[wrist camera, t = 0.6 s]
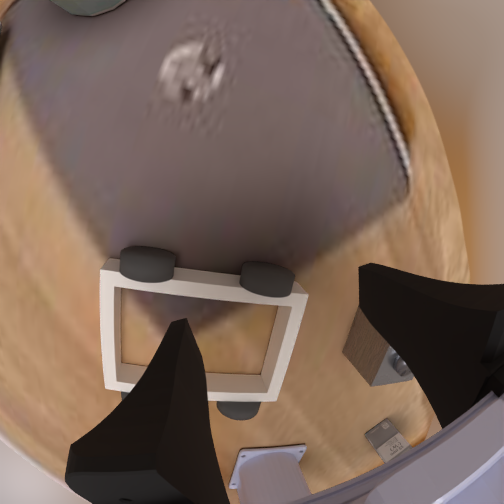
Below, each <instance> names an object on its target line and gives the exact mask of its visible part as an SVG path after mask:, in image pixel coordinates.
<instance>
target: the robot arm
mask: <svg viewBox="0 0 504 504" xmlns="http://www.w3.org/2000/svg"><path fill="white" fill-rule="evenodd" d="M359 307H360V309H361V310H362V312H363V313H364V315H365V316H366V318H367V319H368V321H369V322H370V324H371V325H372V326H373V327H374V328H375V329H376V330H377V332H378V333H379V334H380V335H381V336H382V337H383V338H384V339H385V340H386V341H387V343H388V344H389V345H390V346H391V347H392V348H393V349H394V350H395V351H396V352H397V354H398V355H399V356H400V357H401V358H402V360H403V361H404V362H405V363H406V365H407V366H408V368H409V369H410V371H411V372H412V374H413V375H414V377H415V378H416V380H417V381H418V383H419V385H420V386H421V388H422V389H423V391H424V393H425V395H426V396H427V398H428V400H429V402H430V404H431V406H432V408H433V410H434V412H435V414H436V415H437V418H438V420H439V422H440V425H441V427H442V430H440V431H439V432H437V433H436V434H434V435H433V436H431V437H430V438H429V439H427V440H425V441H424V442H422V443H420V444H419V445H417V446H415V447H414V448H412V449H410V450H409V451H407V452H405V453H403V454H402V455H400V456H398V457H396V458H394V459H393V460H391V461H389V462H387V463H385V464H383V465H381V466H379V467H377V468H375V469H373V470H371V471H369V472H367V473H364V474H362V475H360V476H358V477H356V478H353V479H351V480H349V481H346V482H344V483H342V484H339V485H337V486H334V487H331V488H329V489H326V490H323V491H321V492H318V493H315V494H311V492H310V490H309V487H308V485H307V483H306V480H305V478H304V476H303V473H302V471H301V469H300V466H299V464H298V463H299V461H300V460H301V458H302V456H303V454H304V452H305V451H306V449H307V447H306V445H296V446H286V447H275V448H259V449H242V450H241V451H240V452H239V455H238V458H237V461H236V464H235V467H234V471H233V474H232V477H231V480H230V483H229V488H230V489H237V492H238V496H239V500H240V504H504V284H494V285H476V284H462V283H454V282H447V281H441V280H436V279H431V278H427V277H423V276H419V275H415V274H412V273H408V272H404V271H401V270H397V269H394V268H391V267H387V266H383V265H379V264H375V263H369V264H366V265H363V266H360V267H359ZM65 482H66V483H67V485H68V486H69V487H70V488H71V489H72V490H73V491H74V492H75V493H77V494H78V495H80V496H81V497H83V498H84V499H86V500H88V501H89V502H91V503H92V504H230V502H229V499H228V496H227V493H226V490H225V486H224V483H223V479H222V476H221V472H220V468H219V464H218V461H217V457H216V452H215V448H214V444H213V439H212V434H211V428H210V419H209V407H208V394H207V381H206V374H205V369H204V364H203V359H202V355H201V353H200V350H199V348H198V346H197V343H196V341H195V338H194V336H193V333H192V331H191V328H190V326H189V323H188V321H187V318H185V319H181V320H177V321H173V322H171V324H170V326H169V328H168V330H167V332H166V334H165V336H164V338H163V340H162V342H161V344H160V346H159V347H158V349H157V351H156V353H155V355H154V357H153V359H152V360H151V362H150V364H149V365H148V367H147V369H146V370H145V372H144V374H143V375H142V377H141V378H140V379H139V381H138V382H137V384H136V385H135V386H134V387H133V389H132V390H131V391H130V393H129V394H128V395H127V396H126V397H125V398H124V399H123V400H122V402H121V403H120V404H119V405H118V406H117V407H116V408H115V409H114V410H113V411H112V412H111V413H110V414H109V415H108V416H107V417H106V418H105V419H104V420H103V421H102V422H100V423H99V424H98V425H97V426H96V427H95V428H93V429H92V430H91V431H89V432H88V433H87V434H85V435H84V436H83V437H81V438H80V439H78V440H77V441H76V442H74V443H73V444H71V446H70V450H69V456H68V461H67V467H66V473H65Z"/></svg>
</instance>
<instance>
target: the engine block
mask: <svg viewBox="0 0 504 504" xmlns="http://www.w3.org/2000/svg"><path fill="white" fill-rule="evenodd" d="M343 353H344V355H345V356H346V357H347V358H348V359H349V361H350V362H351V363H352V364H353V366H354V367H355V368H356V369H357V370H358V372H359V373H360V374H361V375H362V376H363V378H364V379H365V380H366V381H367V383H368V384H369V385H370V386H371V387H372V386H379V385H385V384H392V383H398V382H403V381H409V380H412V379H413V377H414V375H413V374H412V372H411V371H410V369H409V368H408V366H407V365H406V363H405V362H404V361H403V360H402V358H401V357H400V356H399V355H398V354H397V352H396V351H395V350H394V349H393V348H392V347H391V346H390V345H389V344H388V343H387V341H386V340H385V339H384V338H383V337H382V336H381V335H380V334H379V333H378V332H377V330H376V329H375V328H374V327H373V326H372V325H371V324H370V322H369V321H368V319H367V318H366V316H365V315H364V313H363V312H362V310H361V309H360V307H359V306H358V309H357V312H356V315H355V318H354V321H353V324H352V327H351V330H350V333H349V335H348V338H347V341H346V344H345V346H344V349H343Z"/></svg>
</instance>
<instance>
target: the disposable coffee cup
mask: <svg viewBox="0 0 504 504" xmlns="http://www.w3.org/2000/svg"><path fill="white" fill-rule="evenodd" d="M50 1H52V2H54V3H55V4H57V5H58V6H60V7H61V8H63V9H64V10H66V11H67V12H69V13H70V14H76V15H84V16H95V15H98V14H101V13H104V12H107V11H110V10H113V9H115V8H116V7H117V6H119V5H120V4H122V3H123V2H124V1H126V0H50Z"/></svg>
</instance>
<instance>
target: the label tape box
mask: <svg viewBox="0 0 504 504" xmlns="http://www.w3.org/2000/svg"><path fill="white" fill-rule="evenodd" d="M365 436H366V438H367V439H368V441H369V442H370V443H371V445H372V446H373V447H374V449H375V450H376V452H377V453H378V455H379V456H380V457H381V459H382V460H383V462H384V463H387V462H389V461H391V460H393V459H394V458H396V457H398V456H400V455H402V454H403V453H405V452H407V451H409V450H410V449H412V447H411V445H410V444H409V443H408V442H407V441H406V439H405V438H404V437H403V436H402V435H401V434H400V432H399V431H398V430H397V429H396V428H395V427H394V426H393V425H392V423H391V422H390V421H389V420H388V419H385V420H384V421H382V422H381V423H379V424H378V425H376V426H375V427H374V428H373V429H371V430H370V431H369V432H367V433H366V434H365Z"/></svg>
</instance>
